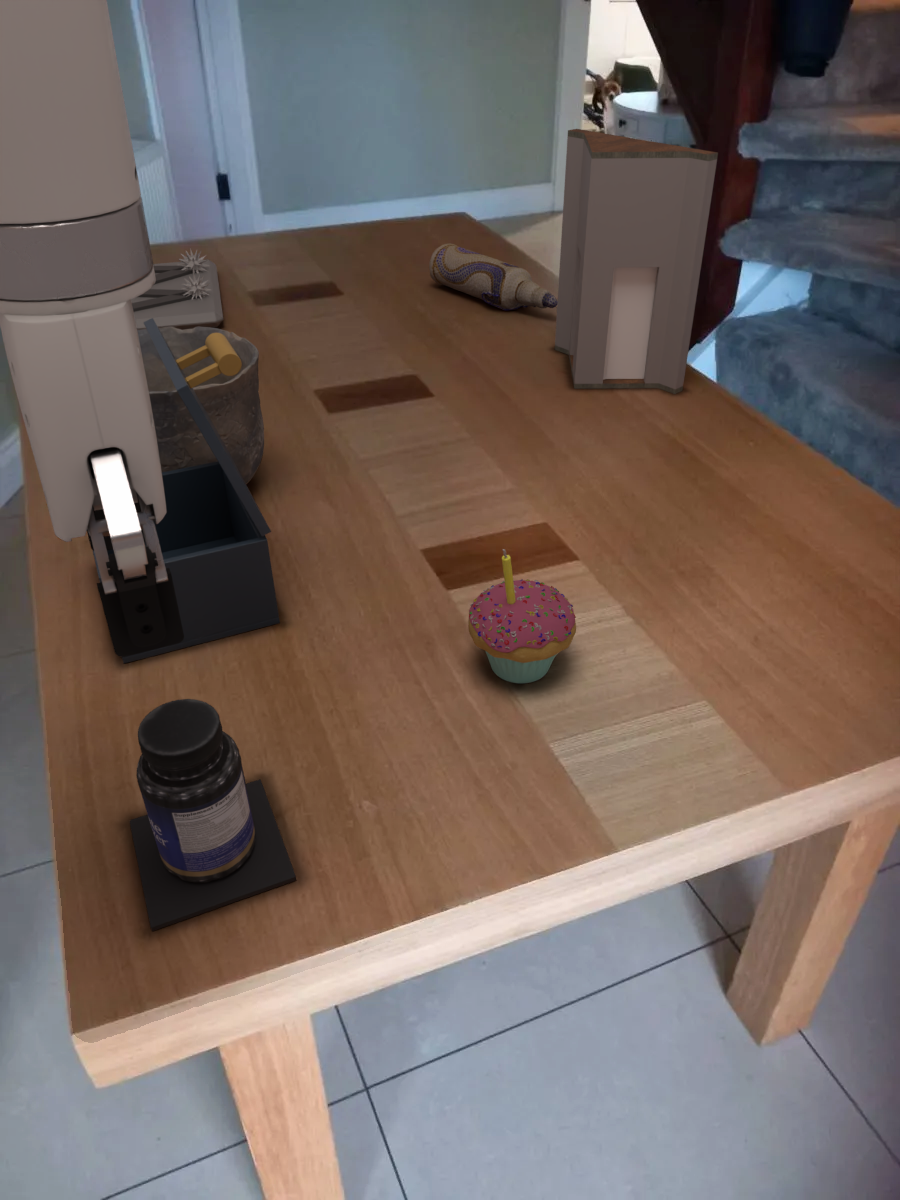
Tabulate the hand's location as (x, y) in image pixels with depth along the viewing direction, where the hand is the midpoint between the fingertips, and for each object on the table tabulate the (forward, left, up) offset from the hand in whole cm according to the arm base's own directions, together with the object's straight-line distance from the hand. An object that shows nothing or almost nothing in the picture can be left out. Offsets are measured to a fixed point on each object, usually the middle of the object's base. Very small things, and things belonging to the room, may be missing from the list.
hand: (135, 592), depth 47 cm
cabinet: (+63, +56, -21) cm, 88 cm away
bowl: (+8, +48, -21) cm, 54 cm away
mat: (0, 0, -21) cm, 21 cm away
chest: (+4, +29, -21) cm, 36 cm away
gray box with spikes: (+14, +111, -21) cm, 114 cm away
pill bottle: (0, 0, -21) cm, 21 cm away
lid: (+8, +29, -5) cm, 31 cm away
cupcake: (+27, +8, -21) cm, 36 cm away
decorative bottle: (+63, +89, -21) cm, 112 cm away
